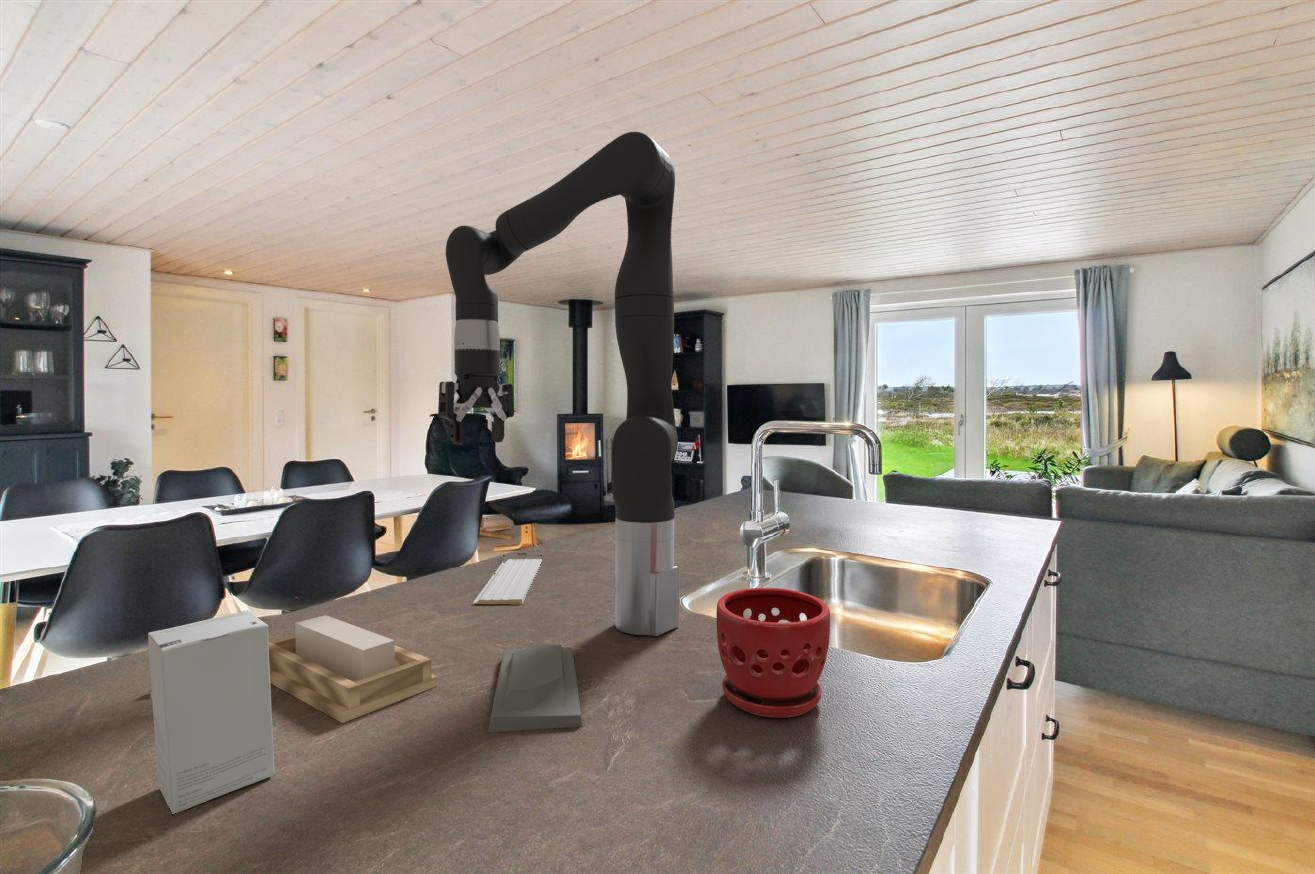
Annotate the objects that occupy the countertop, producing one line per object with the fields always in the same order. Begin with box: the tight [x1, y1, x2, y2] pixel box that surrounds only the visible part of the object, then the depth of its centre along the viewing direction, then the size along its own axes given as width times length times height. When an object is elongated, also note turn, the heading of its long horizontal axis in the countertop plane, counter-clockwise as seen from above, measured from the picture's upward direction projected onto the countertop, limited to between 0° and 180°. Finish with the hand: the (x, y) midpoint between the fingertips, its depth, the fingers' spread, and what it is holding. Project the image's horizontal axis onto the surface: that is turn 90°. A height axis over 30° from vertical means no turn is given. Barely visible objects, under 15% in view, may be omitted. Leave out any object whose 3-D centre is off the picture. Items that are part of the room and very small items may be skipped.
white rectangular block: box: [294, 614, 395, 682], centre depth 83 cm, size 16×4×5 cm, turn 54°
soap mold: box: [487, 643, 583, 733], centre depth 81 cm, size 10×20×4 cm, turn 9°
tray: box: [268, 634, 438, 724], centre depth 83 cm, size 22×12×4 cm, turn 54°
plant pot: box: [716, 587, 831, 719], centre depth 78 cm, size 13×13×12 cm
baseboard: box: [472, 552, 543, 606], centre depth 130 cm, size 30×3×10 cm
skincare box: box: [147, 609, 275, 815], centre depth 60 cm, size 8×6×15 cm
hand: (478, 443), depth 114 cm, fingers open, 8 cm apart
